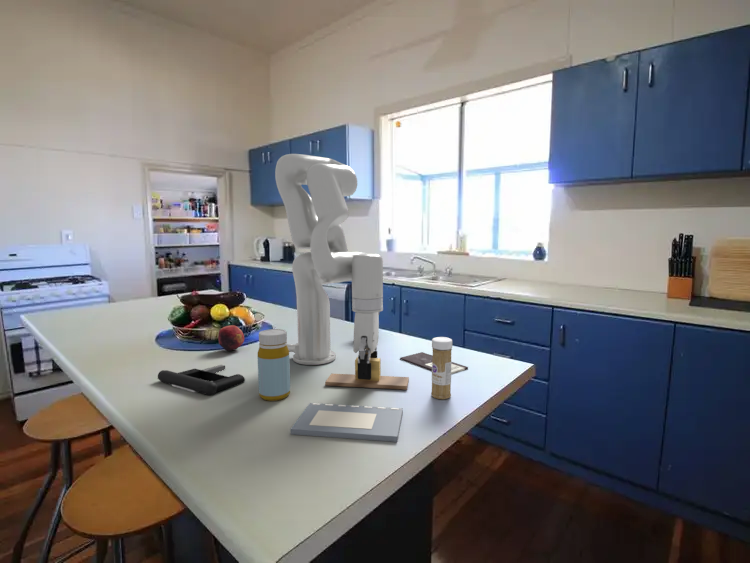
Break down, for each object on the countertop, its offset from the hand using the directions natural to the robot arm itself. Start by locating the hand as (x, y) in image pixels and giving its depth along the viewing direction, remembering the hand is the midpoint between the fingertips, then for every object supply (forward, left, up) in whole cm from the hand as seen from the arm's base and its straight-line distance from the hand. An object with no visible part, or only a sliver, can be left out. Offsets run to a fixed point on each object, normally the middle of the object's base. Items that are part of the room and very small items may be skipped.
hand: (367, 372), depth 102 cm
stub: (0, 0, -3) cm, 3 cm away
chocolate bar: (+16, +17, -4) cm, 24 cm away
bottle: (-20, -11, -3) cm, 23 cm away
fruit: (-48, +22, -3) cm, 53 cm away
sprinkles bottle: (+18, -6, -3) cm, 19 cm away
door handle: (-41, -4, -4) cm, 42 cm away
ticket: (0, -22, -3) cm, 22 cm away
